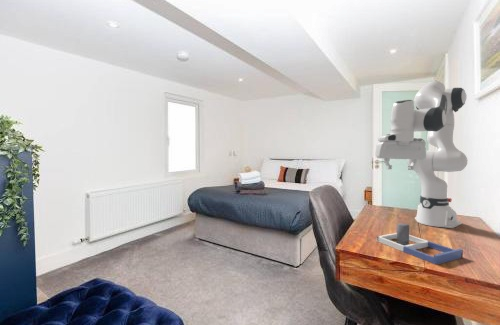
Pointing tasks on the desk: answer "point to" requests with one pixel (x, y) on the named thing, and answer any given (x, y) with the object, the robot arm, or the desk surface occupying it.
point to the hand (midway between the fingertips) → (399, 169)
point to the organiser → (421, 243)
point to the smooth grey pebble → (402, 234)
